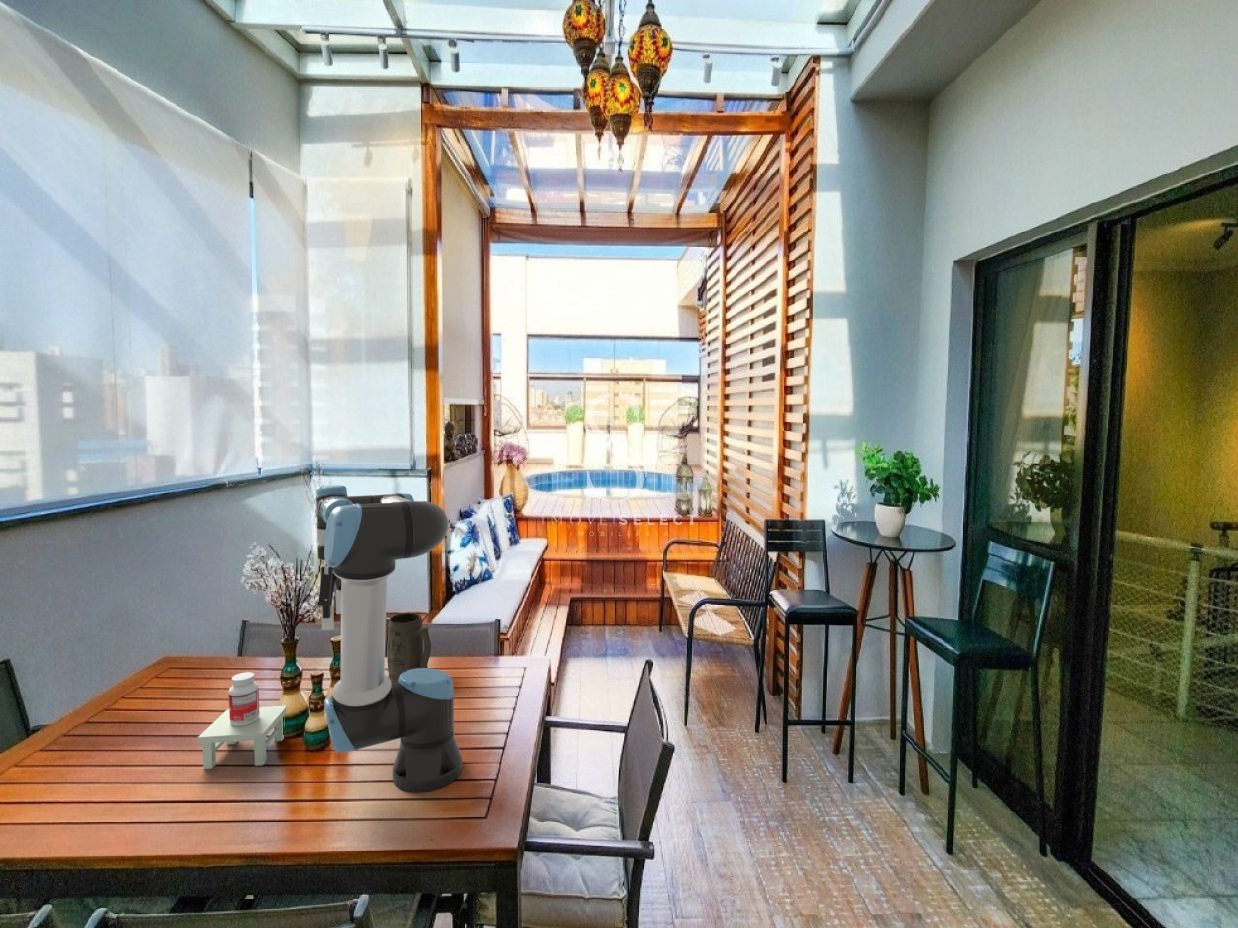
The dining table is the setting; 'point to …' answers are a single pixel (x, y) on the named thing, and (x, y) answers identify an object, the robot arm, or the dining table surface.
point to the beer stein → (407, 645)
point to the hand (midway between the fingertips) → (335, 621)
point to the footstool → (243, 734)
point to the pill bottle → (243, 699)
